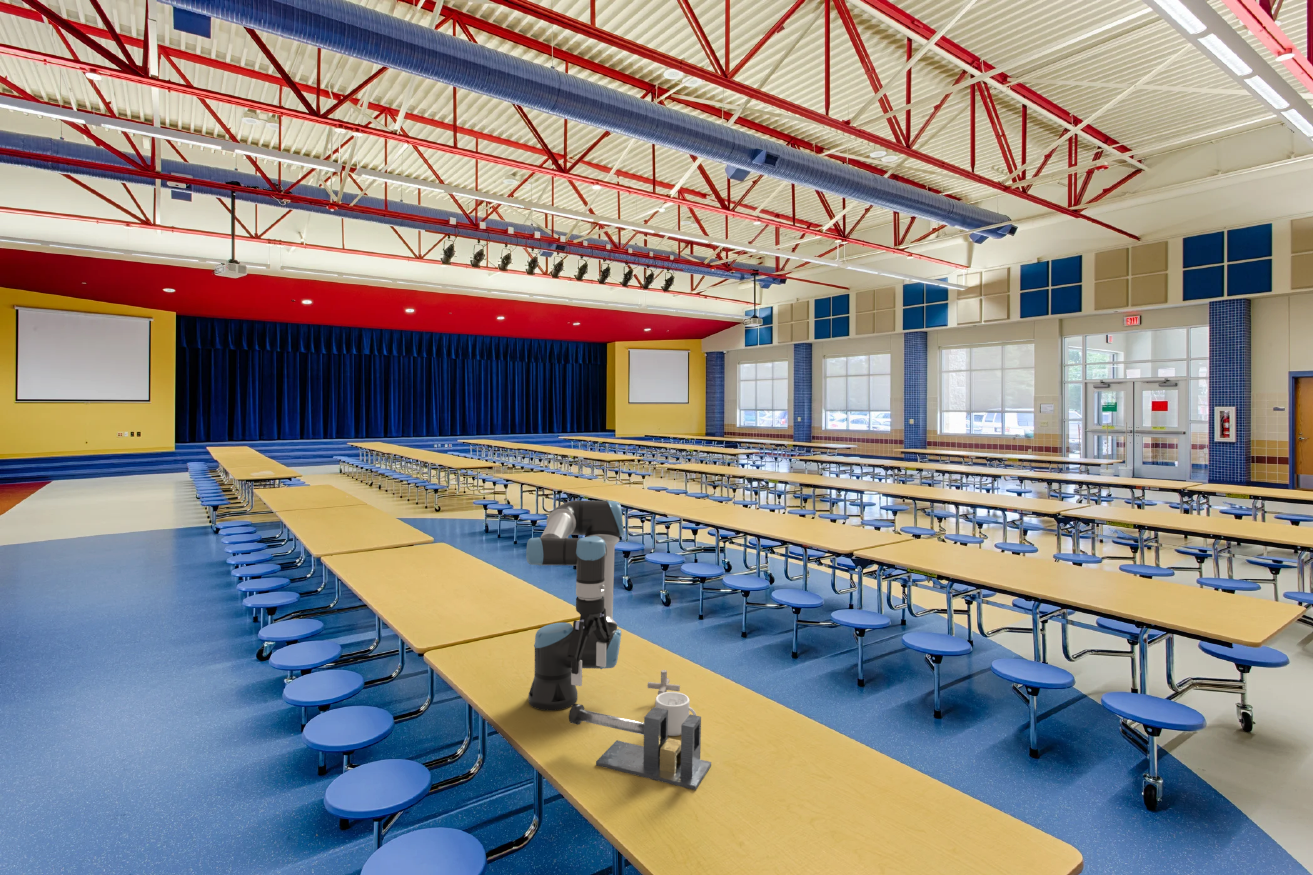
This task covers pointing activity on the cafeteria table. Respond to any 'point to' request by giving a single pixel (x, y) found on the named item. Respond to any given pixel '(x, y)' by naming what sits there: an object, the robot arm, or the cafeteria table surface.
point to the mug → (674, 710)
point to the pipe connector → (663, 684)
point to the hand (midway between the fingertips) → (589, 675)
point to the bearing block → (648, 756)
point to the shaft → (604, 720)
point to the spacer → (670, 755)
